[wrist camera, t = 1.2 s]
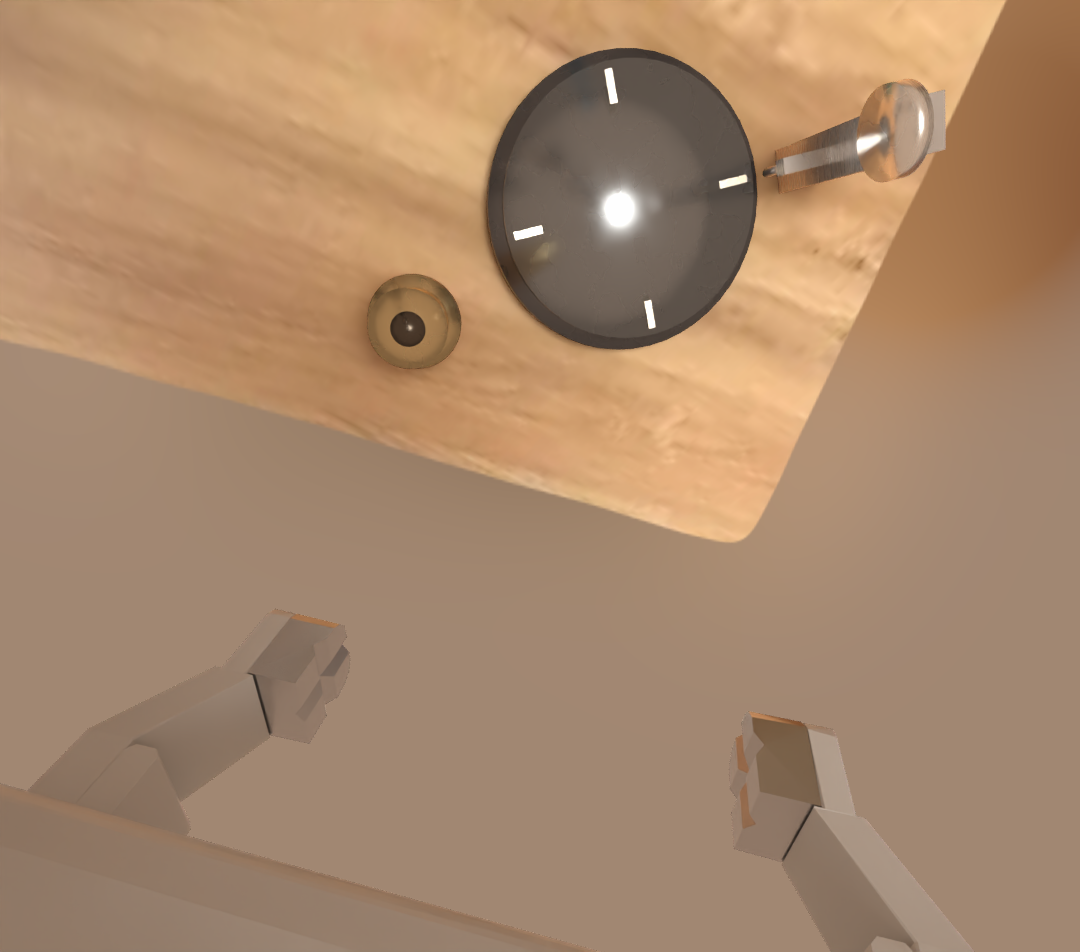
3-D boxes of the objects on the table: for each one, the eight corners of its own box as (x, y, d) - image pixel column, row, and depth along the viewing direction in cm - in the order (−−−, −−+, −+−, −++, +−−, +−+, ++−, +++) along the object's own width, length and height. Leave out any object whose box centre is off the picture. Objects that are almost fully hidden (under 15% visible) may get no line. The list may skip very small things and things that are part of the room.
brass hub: (357, 286, 44) (336, 287, 37) (446, 264, 45) (444, 260, 37) (386, 376, 46) (372, 394, 39) (471, 354, 47) (474, 367, 39)
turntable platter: (472, 98, 40) (472, 91, 39) (728, 37, 41) (737, 28, 39) (535, 362, 46) (537, 364, 44) (757, 303, 47) (766, 304, 45)
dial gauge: (736, 147, 45) (876, 79, 30) (812, 128, 45) (989, 51, 30) (743, 215, 46) (881, 183, 31) (817, 196, 46) (988, 156, 31)
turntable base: (453, 92, 41) (453, 85, 40) (729, 27, 42) (739, 17, 41) (523, 374, 48) (525, 377, 46) (760, 312, 49) (770, 313, 47)
